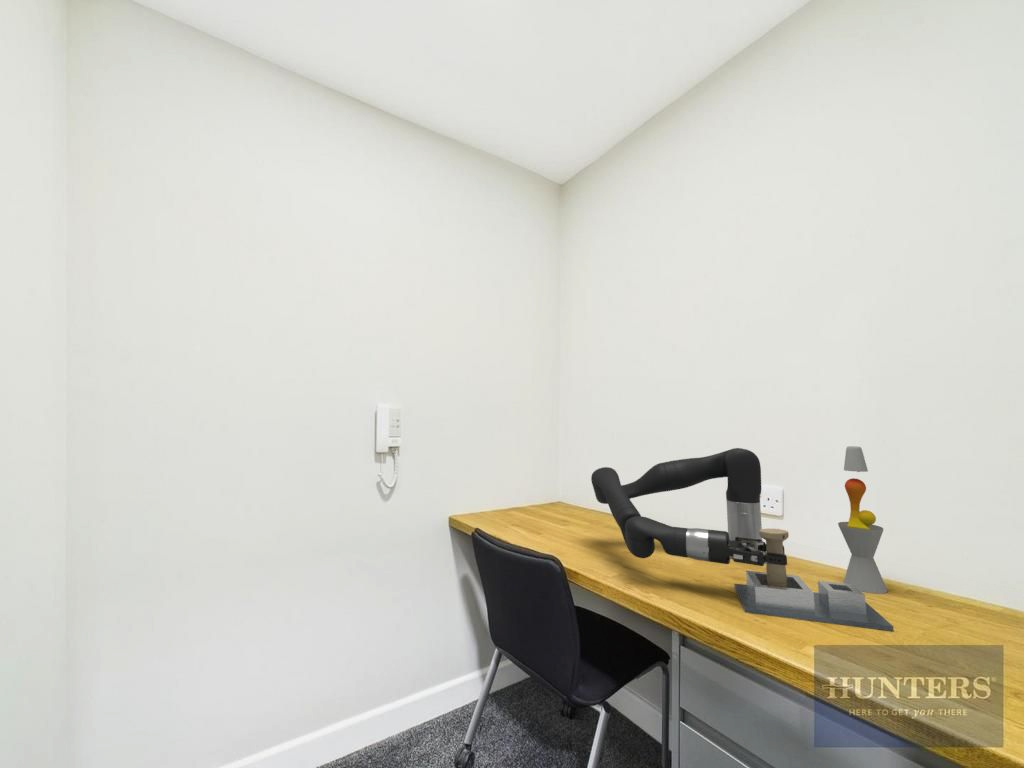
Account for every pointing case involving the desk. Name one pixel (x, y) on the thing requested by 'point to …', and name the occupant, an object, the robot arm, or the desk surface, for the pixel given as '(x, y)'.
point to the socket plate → (809, 602)
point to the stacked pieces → (860, 531)
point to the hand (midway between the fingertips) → (785, 555)
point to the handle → (775, 545)
